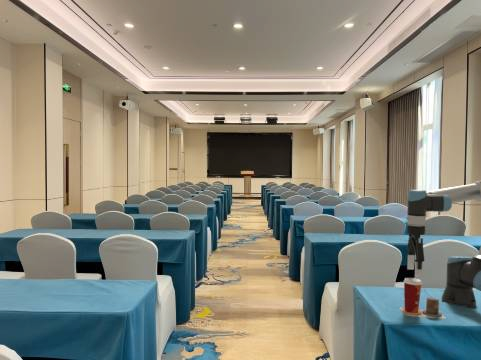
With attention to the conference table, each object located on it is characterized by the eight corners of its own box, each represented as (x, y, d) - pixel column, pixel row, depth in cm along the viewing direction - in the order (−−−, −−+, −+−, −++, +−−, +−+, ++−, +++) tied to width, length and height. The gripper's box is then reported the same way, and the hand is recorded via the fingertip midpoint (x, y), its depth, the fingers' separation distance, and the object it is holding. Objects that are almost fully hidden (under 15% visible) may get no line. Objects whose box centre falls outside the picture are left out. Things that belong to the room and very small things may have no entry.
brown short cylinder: (436, 311, 198) (437, 297, 198) (439, 315, 193) (440, 301, 193) (424, 310, 199) (425, 297, 199) (427, 314, 194) (428, 300, 194)
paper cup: (422, 314, 193) (423, 282, 192) (403, 312, 194) (405, 281, 194) (418, 309, 200) (420, 278, 200) (400, 307, 202) (402, 276, 201)
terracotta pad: (418, 310, 201) (418, 309, 201) (423, 315, 193) (423, 314, 193) (400, 308, 202) (400, 307, 202) (404, 314, 194) (404, 313, 194)
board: (438, 313, 201) (438, 310, 201) (446, 321, 190) (446, 318, 190) (399, 310, 203) (399, 307, 203) (404, 318, 192) (404, 315, 192)
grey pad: (438, 311, 200) (438, 310, 199) (444, 317, 192) (444, 316, 192) (420, 310, 201) (420, 309, 201) (425, 316, 193) (425, 314, 193)
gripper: (400, 221, 209) (399, 266, 210) (414, 228, 184) (412, 279, 185) (417, 221, 208) (415, 266, 209) (433, 229, 183) (431, 280, 184)
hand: (414, 272), depth 197 cm, fingers open, 13 cm apart
